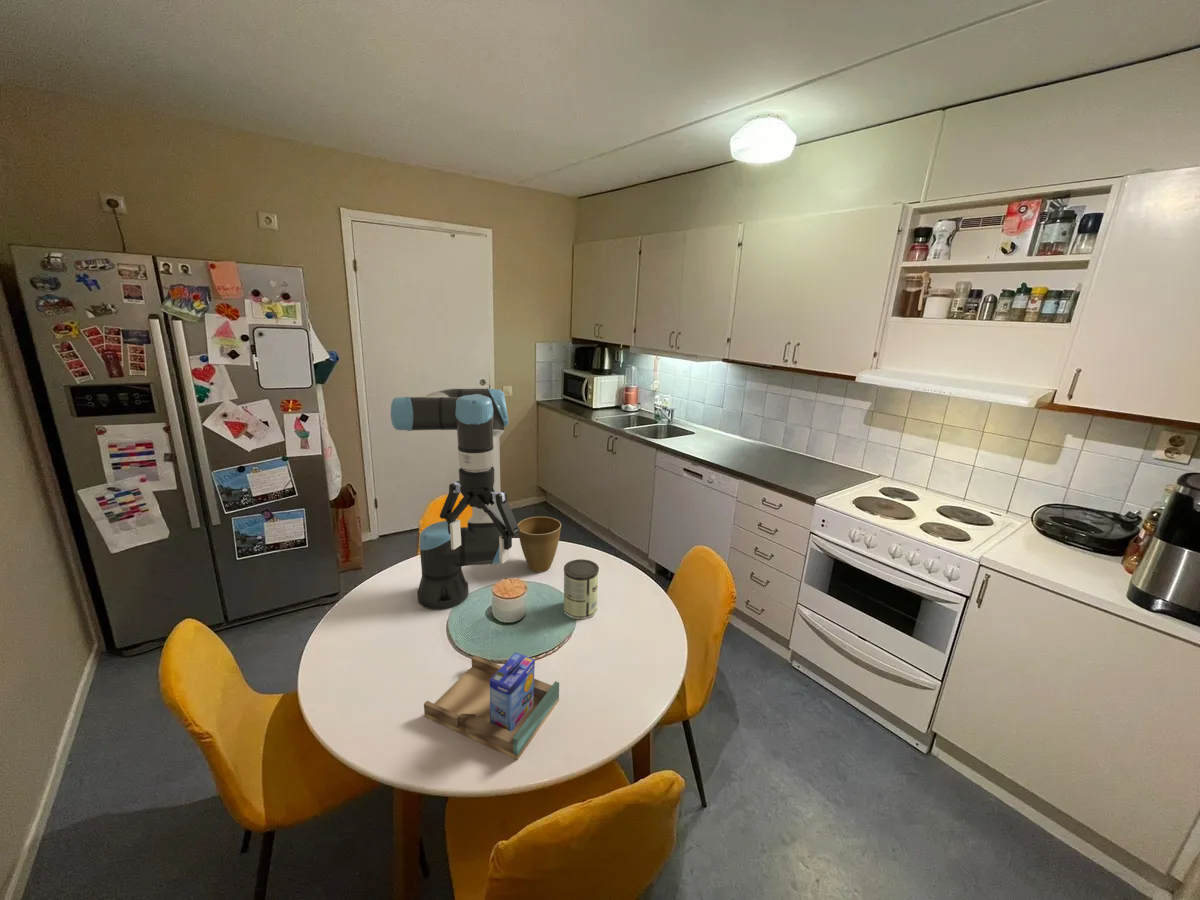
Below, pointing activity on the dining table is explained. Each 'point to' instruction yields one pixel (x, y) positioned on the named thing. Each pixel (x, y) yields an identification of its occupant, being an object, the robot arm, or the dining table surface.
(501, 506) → the robot arm
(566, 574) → the coffee can
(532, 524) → the plant pot
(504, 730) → the channel
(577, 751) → the dining table surface
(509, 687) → the ink cartridge box
